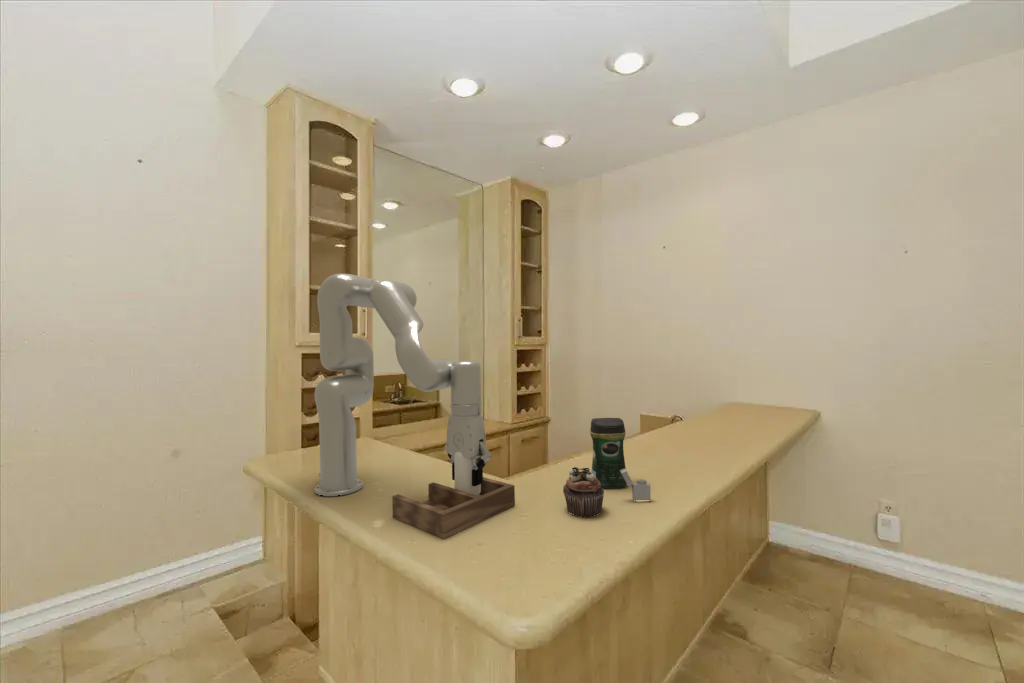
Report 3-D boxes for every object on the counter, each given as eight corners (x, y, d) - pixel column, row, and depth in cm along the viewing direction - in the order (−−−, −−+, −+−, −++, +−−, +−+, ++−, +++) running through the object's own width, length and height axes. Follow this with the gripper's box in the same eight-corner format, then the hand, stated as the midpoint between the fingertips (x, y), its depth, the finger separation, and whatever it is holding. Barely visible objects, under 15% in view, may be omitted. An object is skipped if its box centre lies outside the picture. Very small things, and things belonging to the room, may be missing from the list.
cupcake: (610, 517, 99) (609, 473, 99) (568, 520, 98) (567, 475, 98) (598, 502, 108) (597, 462, 108) (560, 504, 108) (559, 463, 107)
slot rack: (392, 517, 101) (392, 496, 101) (464, 490, 119) (463, 472, 119) (444, 539, 90) (443, 514, 90) (514, 505, 107) (514, 485, 107)
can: (482, 489, 112) (482, 442, 112) (478, 498, 105) (477, 449, 105) (458, 489, 112) (457, 442, 112) (452, 498, 106) (451, 449, 106)
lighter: (648, 499, 109) (648, 467, 109) (650, 502, 108) (650, 469, 107) (620, 499, 110) (619, 468, 110) (621, 502, 108) (621, 470, 108)
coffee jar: (623, 479, 125) (621, 415, 125) (629, 489, 117) (628, 420, 117) (589, 480, 125) (587, 415, 125) (593, 489, 117) (592, 420, 117)
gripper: (432, 408, 111) (433, 478, 112) (480, 415, 100) (481, 493, 100) (454, 405, 117) (455, 471, 117) (502, 411, 106) (503, 484, 106)
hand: (467, 481), depth 109 cm, fingers closed on can, 6 cm apart
